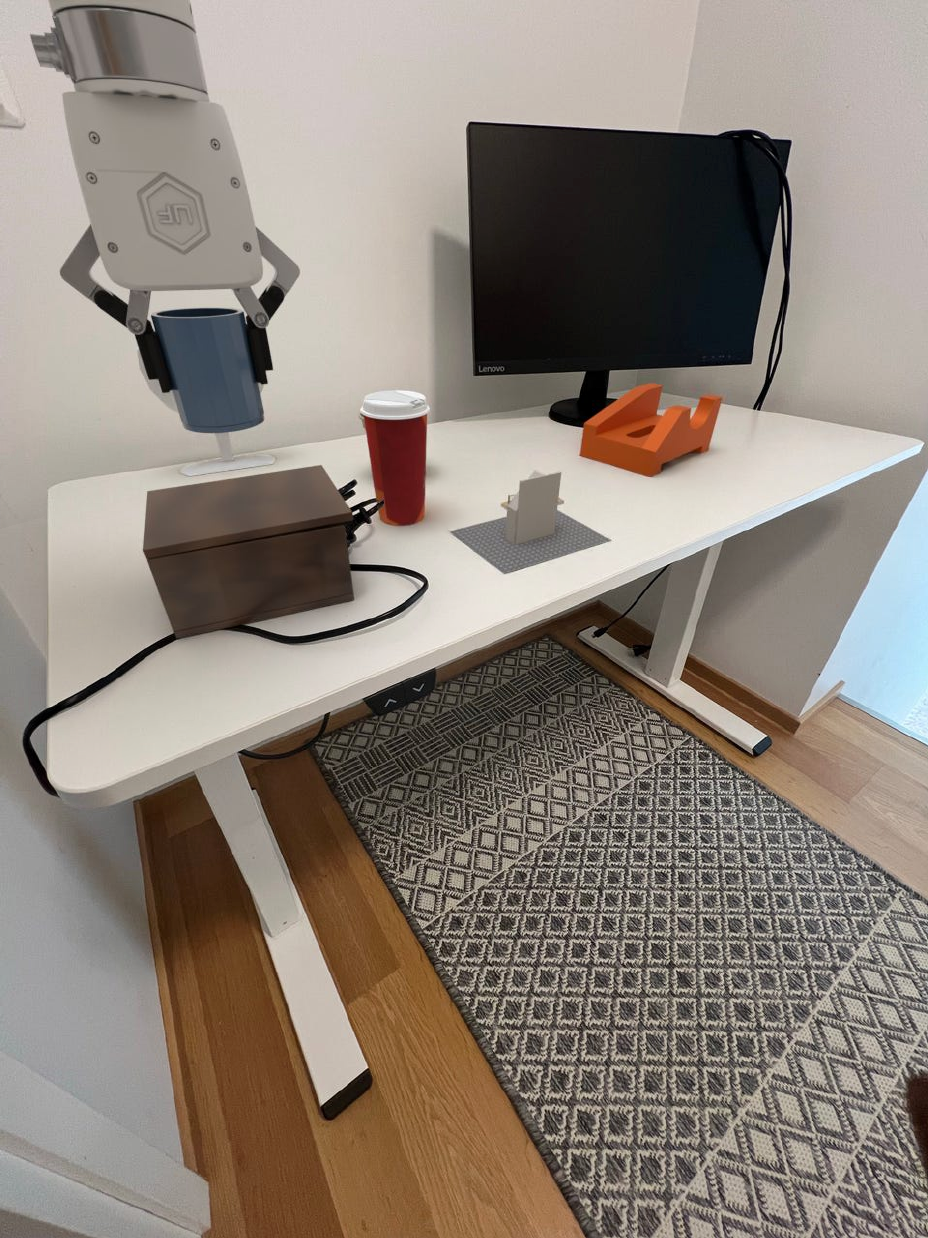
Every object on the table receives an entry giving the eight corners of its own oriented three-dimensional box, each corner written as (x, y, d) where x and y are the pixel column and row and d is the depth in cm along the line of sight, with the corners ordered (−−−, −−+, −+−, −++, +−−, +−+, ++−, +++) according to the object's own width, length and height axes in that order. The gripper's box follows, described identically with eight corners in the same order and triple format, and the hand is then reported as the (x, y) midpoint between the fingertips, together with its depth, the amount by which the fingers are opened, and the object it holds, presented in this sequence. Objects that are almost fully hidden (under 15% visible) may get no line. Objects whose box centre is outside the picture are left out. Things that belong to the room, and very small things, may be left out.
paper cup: (444, 512, 68) (443, 394, 60) (407, 535, 63) (400, 410, 55) (395, 498, 72) (388, 385, 63) (356, 519, 66) (342, 399, 58)
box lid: (322, 472, 57) (321, 464, 56) (353, 520, 47) (352, 511, 47) (149, 498, 51) (146, 490, 51) (146, 559, 42) (142, 550, 42)
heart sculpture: (173, 478, 76) (129, 335, 66) (171, 467, 80) (129, 330, 70) (285, 462, 82) (261, 328, 72) (278, 452, 86) (254, 323, 76)
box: (325, 543, 61) (315, 476, 57) (354, 600, 52) (344, 525, 47) (174, 570, 56) (149, 499, 51) (176, 639, 47) (146, 559, 42)
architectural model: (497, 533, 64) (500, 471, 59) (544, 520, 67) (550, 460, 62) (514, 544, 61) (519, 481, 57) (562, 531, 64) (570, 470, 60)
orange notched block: (640, 432, 97) (650, 382, 92) (708, 450, 89) (722, 396, 84) (579, 455, 86) (587, 400, 82) (650, 477, 79) (663, 418, 74)
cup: (184, 437, 42) (149, 319, 37) (181, 416, 47) (151, 309, 42) (269, 427, 44) (247, 315, 39) (259, 408, 49) (238, 306, 44)
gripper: (-55, 38, 27) (87, 407, 38) (294, 73, 33) (333, 385, 44) (-18, 70, 33) (97, 384, 43) (275, 96, 39) (314, 367, 49)
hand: (215, 382), depth 43 cm, fingers closed on cup, 6 cm apart
